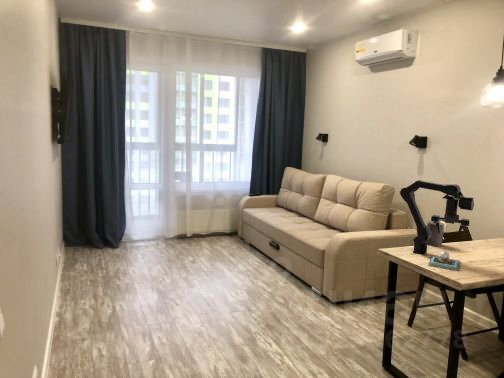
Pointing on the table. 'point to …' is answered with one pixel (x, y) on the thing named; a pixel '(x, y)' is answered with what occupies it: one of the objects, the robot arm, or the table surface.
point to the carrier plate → (451, 267)
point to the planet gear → (444, 258)
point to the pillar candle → (435, 234)
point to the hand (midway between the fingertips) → (448, 235)
